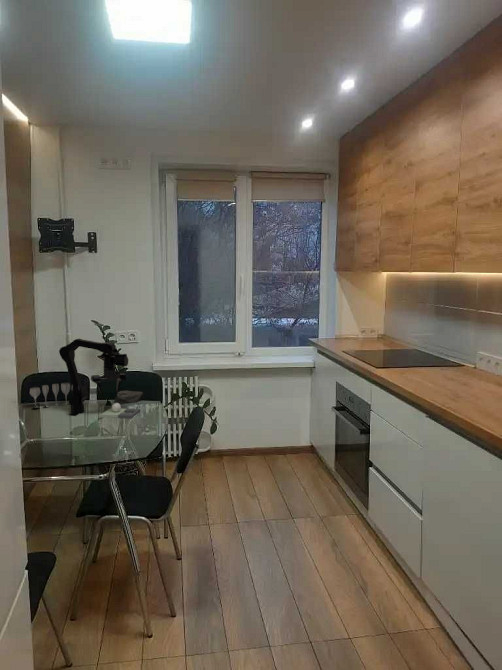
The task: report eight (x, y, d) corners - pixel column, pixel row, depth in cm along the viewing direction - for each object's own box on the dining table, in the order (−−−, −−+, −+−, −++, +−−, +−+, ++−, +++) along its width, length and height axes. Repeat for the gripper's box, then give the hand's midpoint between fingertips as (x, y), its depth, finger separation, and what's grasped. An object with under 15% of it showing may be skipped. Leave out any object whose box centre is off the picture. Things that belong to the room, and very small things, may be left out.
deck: (100, 417, 271) (100, 414, 271) (110, 410, 285) (110, 408, 285) (132, 418, 269) (131, 415, 269) (140, 411, 283) (140, 409, 283)
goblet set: (79, 402, 306) (78, 381, 304) (80, 404, 300) (80, 382, 299) (30, 407, 293) (29, 385, 292) (30, 409, 288) (29, 387, 287)
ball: (110, 412, 275) (110, 404, 275) (113, 410, 280) (113, 401, 280) (119, 413, 275) (118, 404, 274) (122, 410, 280) (122, 402, 279)
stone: (117, 401, 290) (114, 387, 295) (113, 409, 296) (110, 394, 301) (146, 399, 300) (143, 385, 305) (142, 406, 306) (139, 392, 311)
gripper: (95, 368, 264) (95, 397, 265) (129, 366, 273) (129, 394, 275) (90, 365, 273) (90, 392, 275) (124, 363, 283) (124, 390, 284)
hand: (109, 392), depth 277 cm, fingers open, 9 cm apart
